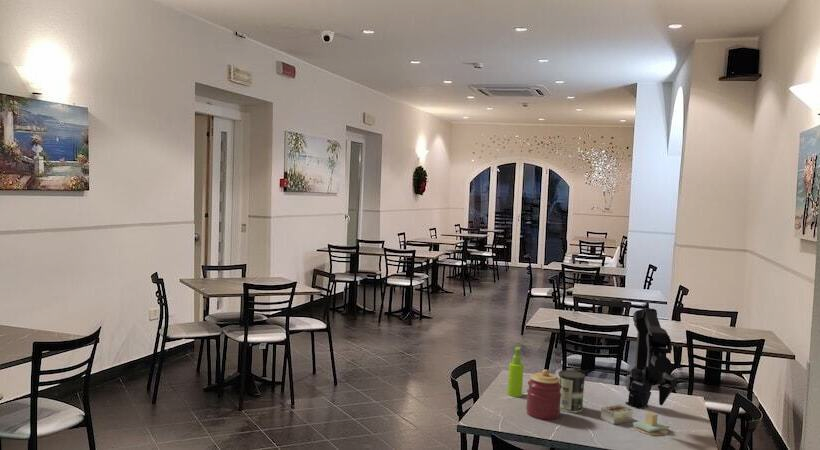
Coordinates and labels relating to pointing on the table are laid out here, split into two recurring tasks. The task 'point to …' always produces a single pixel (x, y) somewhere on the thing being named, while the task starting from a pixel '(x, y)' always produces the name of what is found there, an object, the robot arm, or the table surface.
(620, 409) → the tin
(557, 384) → the canister
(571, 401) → the coffee can
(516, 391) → the soap dispenser
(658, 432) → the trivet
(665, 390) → the robot arm
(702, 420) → the table surface
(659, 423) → the lid
